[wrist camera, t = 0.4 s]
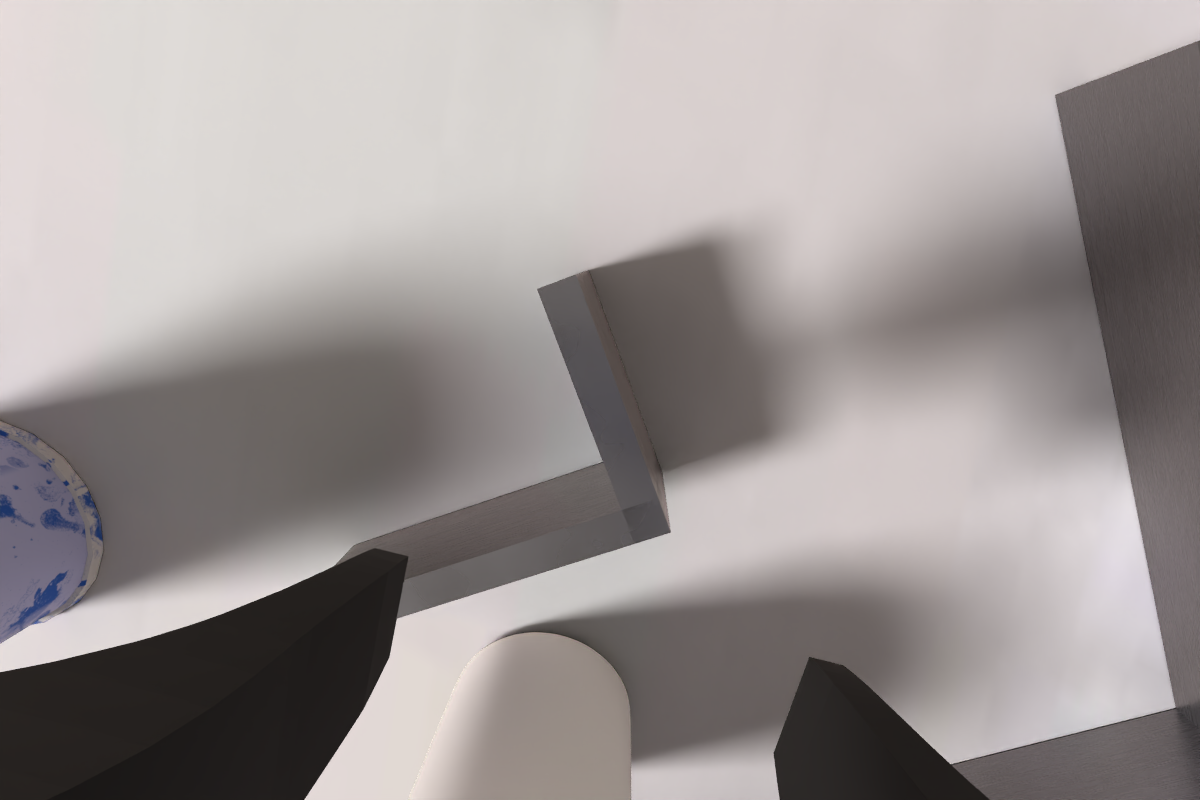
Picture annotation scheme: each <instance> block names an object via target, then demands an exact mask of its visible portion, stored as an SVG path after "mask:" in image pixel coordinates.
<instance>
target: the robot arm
mask: <svg viewBox="0 0 1200 800" xmlns="http://www.w3.org/2000/svg"><path fill="white" fill-rule="evenodd" d="M408 557H409V556H405V555H401V554H397V553H393V552H389V551H385V550H381V549H377V548H373V549H371V550H368V551H366V552H364V553H361V554H359V555H357V556H355V557H353V558H351V559H348V560H346V561H344V562H342V563H340V564H338V565H336V566H334V567H332V568H329V569H327V570H325V571H323V572H321V573H319V574H316V575H314V576H312V577H310V578H308V579H305V580H303V581H301V582H299V583H297V584H295V585H292V586H290V587H288V588H286V589H283V590H281V591H279V592H276V593H274V594H271V595H269V596H266V597H264V598H261V599H259V600H256V601H254V602H251V603H249V604H246V605H244V606H241V607H239V608H236V609H234V610H231V611H229V612H226V613H224V614H221V615H218V616H216V617H213V618H210V619H207V620H204V621H201V622H198V623H195V624H192V625H190V626H186V627H183V628H180V629H177V630H173V631H170V632H167V633H164V634H161V635H157V636H154V637H151V638H147V639H144V640H140V641H137V642H133V643H129V644H125V645H121V646H117V647H113V648H108V649H104V650H100V651H96V652H92V653H88V654H84V655H80V656H76V657H72V658H68V659H63V660H59V661H55V662H50V663H46V664H41V665H36V666H31V667H25V668H20V669H15V670H10V671H5V672H0V800H304V799H305V798H306V796H307V795H308V793H309V792H310V790H311V789H312V787H313V786H314V784H315V783H316V781H317V780H318V778H319V777H320V775H321V774H322V772H323V770H324V769H325V767H326V766H327V764H328V763H329V761H330V760H331V758H332V757H333V755H334V754H335V752H336V751H337V749H338V748H339V746H340V745H341V743H342V742H343V740H344V738H345V737H346V735H347V734H348V732H349V731H350V729H351V728H352V726H353V725H354V723H355V722H356V720H357V718H358V717H359V715H360V714H361V712H362V711H363V709H364V707H365V705H366V703H367V701H368V699H369V697H370V695H371V693H372V691H373V689H374V687H375V685H376V683H377V681H378V679H379V677H380V675H381V673H382V671H383V669H384V667H385V665H386V663H387V661H388V659H389V656H390V651H391V646H392V640H393V635H394V630H395V625H396V619H397V614H398V609H399V604H400V599H401V593H402V588H403V583H404V578H405V572H406V567H407V562H408ZM774 759H775V767H776V775H777V783H778V790H779V797H780V800H990V799H989V798H988V797H986V796H985V795H984V794H983V793H982V792H981V791H980V790H978V789H977V788H976V787H975V786H974V785H973V784H972V783H970V782H969V781H968V780H967V779H966V778H965V777H964V776H963V775H962V774H960V773H959V772H958V771H957V770H956V769H955V768H954V767H953V766H952V765H951V764H950V763H948V762H947V761H946V760H945V759H944V758H943V757H942V756H941V755H940V754H939V753H938V752H937V751H936V750H935V749H933V748H932V747H931V746H930V745H929V744H928V743H927V742H926V741H925V740H924V739H923V738H922V737H921V736H920V735H919V734H918V733H917V732H916V731H915V730H913V729H912V728H911V727H910V726H909V725H908V724H907V723H906V722H905V721H904V720H903V719H902V718H901V717H900V716H899V715H898V714H897V713H896V712H895V711H894V710H893V709H892V708H891V707H889V706H888V705H887V704H886V703H885V702H884V701H883V700H882V699H881V698H880V697H879V696H878V695H877V694H876V693H875V692H874V691H873V690H871V689H870V688H869V687H868V686H867V685H866V684H865V683H864V682H863V681H862V680H860V679H859V678H858V677H857V676H856V675H855V674H854V673H852V672H851V671H850V670H849V669H847V668H846V667H845V666H843V665H839V664H835V663H831V662H827V661H823V660H819V659H815V658H811V657H809V660H808V662H807V665H806V668H805V670H804V673H803V676H802V678H801V681H800V684H799V686H798V689H797V692H796V695H795V697H794V700H793V703H792V705H791V708H790V711H789V713H788V716H787V719H786V721H785V724H784V727H783V730H782V732H781V735H780V738H779V740H778V743H777V746H776V748H775V751H774Z"/></svg>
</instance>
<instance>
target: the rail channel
mask: <svg viewBox="0 0 1200 800" xmlns="http://www.w3.org/2000/svg"><path fill="white" fill-rule="evenodd" d="M1055 96H1056V101H1057V107H1058V112H1059V117H1060V122H1061V127H1062V132H1063V137H1064V142H1065V147H1066V152H1067V157H1068V162H1069V167H1070V173H1071V178H1072V183H1073V188H1074V193H1075V198H1076V203H1077V208H1078V213H1079V218H1080V223H1081V228H1082V233H1083V238H1084V244H1085V249H1086V254H1087V259H1088V264H1089V269H1090V274H1091V279H1092V284H1093V289H1094V294H1095V299H1096V304H1097V310H1098V315H1099V320H1100V325H1101V330H1102V335H1103V340H1104V345H1105V350H1106V355H1107V360H1108V365H1109V370H1110V376H1111V381H1112V386H1113V391H1114V396H1115V401H1116V406H1117V411H1118V416H1119V421H1120V426H1121V431H1122V436H1123V442H1124V447H1125V452H1126V457H1127V462H1128V467H1129V472H1130V477H1131V482H1132V487H1133V492H1134V497H1135V502H1136V508H1137V513H1138V518H1139V523H1140V528H1141V533H1142V538H1143V543H1144V548H1145V553H1146V558H1147V563H1148V568H1149V574H1150V579H1151V584H1152V589H1153V594H1154V599H1155V604H1156V609H1157V614H1158V619H1159V624H1160V629H1161V634H1162V639H1163V645H1164V650H1165V655H1166V660H1167V665H1168V670H1169V675H1170V680H1171V685H1172V690H1173V695H1174V700H1175V705H1176V709H1173V710H1170V711H1166V712H1162V713H1158V714H1154V715H1150V716H1146V717H1142V718H1138V719H1134V720H1130V721H1126V722H1122V723H1118V724H1114V725H1110V726H1106V727H1102V728H1098V729H1094V730H1090V731H1086V732H1082V733H1078V734H1074V735H1070V736H1066V737H1062V738H1058V739H1054V740H1050V741H1046V742H1042V743H1038V744H1034V745H1030V746H1026V747H1022V748H1018V749H1014V750H1010V751H1006V752H1002V753H998V754H994V755H990V756H986V757H982V758H978V759H974V760H970V761H966V762H962V763H958V764H954V765H952V766H953V767H954V768H955V769H956V770H957V771H958V772H959V773H960V774H962V775H963V776H964V777H965V778H966V779H967V780H968V781H969V782H970V783H972V784H973V785H974V786H975V787H976V788H977V789H978V790H980V791H981V792H982V793H983V794H984V795H985V796H986V797H988V798H989V799H990V800H1200V41H1197V42H1195V43H1192V44H1189V45H1187V46H1184V47H1181V48H1179V49H1176V50H1173V51H1171V52H1168V53H1166V54H1163V55H1160V56H1158V57H1155V58H1152V59H1150V60H1147V61H1144V62H1142V63H1139V64H1136V65H1134V66H1131V67H1128V68H1126V69H1123V70H1121V71H1118V72H1115V73H1113V74H1110V75H1107V76H1105V77H1102V78H1099V79H1097V80H1094V81H1091V82H1089V83H1086V84H1083V85H1081V86H1078V87H1076V88H1073V89H1070V90H1068V91H1065V92H1062V93H1060V94H1057V95H1055ZM537 290H538V293H539V295H540V298H541V300H542V303H543V306H544V308H545V311H546V313H547V316H548V319H549V321H550V324H551V327H552V329H553V332H554V334H555V337H556V340H557V342H558V345H559V347H560V350H561V353H562V355H563V358H564V361H565V363H566V366H567V368H568V371H569V374H570V376H571V379H572V382H573V384H574V387H575V389H576V392H577V395H578V397H579V400H580V402H581V405H582V408H583V410H584V413H585V416H586V418H587V421H588V423H589V426H590V429H591V431H592V434H593V437H594V439H595V442H596V444H597V447H598V450H599V452H600V455H601V457H602V460H603V463H600V464H597V465H594V466H591V467H588V468H585V469H582V470H579V471H576V472H573V473H570V474H567V475H564V476H561V477H558V478H555V479H552V480H549V481H546V482H543V483H540V484H537V485H534V486H531V487H528V488H525V489H522V490H519V491H516V492H513V493H510V494H507V495H504V496H501V497H498V498H495V499H492V500H489V501H486V502H483V503H480V504H477V505H474V506H471V507H468V508H465V509H462V510H459V511H456V512H453V513H450V514H447V515H444V516H441V517H438V518H435V519H432V520H429V521H426V522H423V523H420V524H417V525H414V526H411V527H408V528H405V529H402V530H399V531H396V532H393V533H390V534H387V535H384V536H381V537H378V538H375V539H372V540H369V541H366V542H363V543H360V544H357V545H354V546H353V547H352V548H351V549H350V550H349V551H348V552H347V553H346V554H345V555H344V556H343V557H342V558H341V559H340V560H339V561H338V563H337V564H336V565H338V564H340V563H342V562H344V561H346V560H348V559H351V558H353V557H355V556H357V555H359V554H361V553H364V552H366V551H368V550H371V549H373V548H377V549H381V550H385V551H389V552H393V553H397V554H401V555H405V556H409V557H408V562H407V567H406V572H405V578H404V583H403V588H402V593H401V599H400V604H399V609H398V614H397V618H400V617H403V616H406V615H409V614H413V613H416V612H419V611H422V610H425V609H428V608H432V607H435V606H438V605H441V604H444V603H448V602H451V601H454V600H457V599H460V598H463V597H467V596H470V595H473V594H476V593H479V592H483V591H486V590H489V589H492V588H495V587H498V586H502V585H505V584H508V583H511V582H514V581H518V580H521V579H524V578H527V577H530V576H533V575H537V574H540V573H543V572H546V571H549V570H553V569H556V568H559V567H562V566H565V565H569V564H572V563H575V562H578V561H581V560H584V559H588V558H591V557H594V556H597V555H600V554H604V553H607V552H610V551H613V550H616V549H619V548H623V547H626V546H629V545H632V544H635V543H639V542H642V541H645V540H648V539H651V538H654V537H658V536H661V535H664V534H667V533H670V532H671V530H670V523H669V516H668V509H667V502H666V495H665V488H664V481H663V475H662V471H661V468H660V465H659V463H658V460H657V457H656V454H655V452H654V449H653V446H652V443H651V441H650V438H649V435H648V432H647V430H646V427H645V424H644V421H643V419H642V416H641V413H640V410H639V408H638V405H637V402H636V399H635V397H634V394H633V391H632V388H631V385H630V383H629V380H628V377H627V374H626V372H625V369H624V366H623V363H622V361H621V358H620V355H619V352H618V350H617V347H616V344H615V341H614V339H613V336H612V333H611V330H610V328H609V325H608V322H607V319H606V317H605V314H604V311H603V308H602V305H601V303H600V300H599V297H598V294H597V292H596V289H595V286H594V283H593V281H592V278H591V275H590V272H589V270H588V271H585V272H582V273H579V274H576V275H574V276H571V277H568V278H566V279H563V280H560V281H558V282H555V283H552V284H550V285H547V286H544V287H542V288H539V289H537ZM336 565H335V566H336Z"/></svg>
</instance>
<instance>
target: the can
mask: <svg viewBox="0 0 1200 800" xmlns="http://www.w3.org/2000/svg"><path fill="white" fill-rule="evenodd" d="M408 800H631V717H630V705H629V699H628V695H627V692H626V689H625V687H624V684H623V682H622V680H621V678H620V677H619V675H618V674H617V672H616V671H615V669H614V668H613V667H612V666H611V665H610V663H609V662H608V661H607V660H606V659H605V658H603V657H602V656H601V655H600V654H599V653H597V652H596V651H595V650H593V649H592V648H590V647H588V646H587V645H585V644H583V643H581V642H579V641H576V640H574V639H571V638H568V637H565V636H561V635H557V634H551V633H541V632H531V633H521V634H516V635H512V636H508V637H505V638H502V639H500V640H497V641H495V642H493V643H491V644H490V645H488V646H486V647H485V648H483V649H482V650H481V651H480V652H478V653H477V654H476V655H475V656H474V657H473V658H472V659H471V660H470V661H469V663H468V664H467V665H466V667H465V668H464V670H463V671H462V673H461V675H460V677H459V679H458V681H457V683H456V685H455V688H454V690H453V692H452V694H451V697H450V699H449V702H448V704H447V706H446V709H445V711H444V713H443V716H442V718H441V721H440V723H439V725H438V728H437V730H436V733H435V735H434V737H433V740H432V742H431V745H430V747H429V750H428V752H427V754H426V757H425V759H424V762H423V764H422V767H421V769H420V771H419V774H418V776H417V779H416V781H415V784H414V786H413V788H412V791H411V793H410V796H409V798H408Z"/></svg>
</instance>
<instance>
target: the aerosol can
mask: <svg viewBox="0 0 1200 800" xmlns="http://www.w3.org/2000/svg"><path fill="white" fill-rule="evenodd" d="M103 550H104V549H103V539H102V530H101V520H100V516H99V514H98V512H97V509H96V507H95V505H94V502H93V500H92V498H91V495H90V493H89V491H88V488H87V486H86V485H85V484H84V482H83V481H82V480H81V479H80V477H79V476H78V475H77V473H76V472H75V471H74V470H73V468H72V467H71V466H70V465H69V463H68V462H67V461H66V460H65V458H64V457H63V456H61V455H60V454H59V453H57V452H56V451H55V450H53V449H52V448H51V447H49V446H48V445H47V444H45V443H44V442H43V441H41V440H40V439H39V438H37V437H36V436H35V435H33V434H31V433H29V432H26V431H24V430H22V429H19V428H17V427H14V426H12V425H9V424H7V423H4V422H2V421H0V643H2V642H4V641H5V640H7V639H9V638H10V637H12V636H13V635H15V634H17V633H18V632H20V631H22V630H23V629H25V628H26V627H28V626H30V625H33V624H38V623H43V622H46V621H47V620H49V619H51V618H52V617H54V616H56V615H57V614H59V613H61V612H62V611H64V610H66V609H67V608H69V607H71V606H72V605H74V604H75V603H77V602H79V601H80V600H81V599H82V597H83V596H84V594H85V593H86V592H87V590H88V589H89V588H90V586H91V585H92V584H93V582H94V581H95V580H96V578H97V574H98V570H99V566H100V562H101V558H102V554H103Z"/></svg>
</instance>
